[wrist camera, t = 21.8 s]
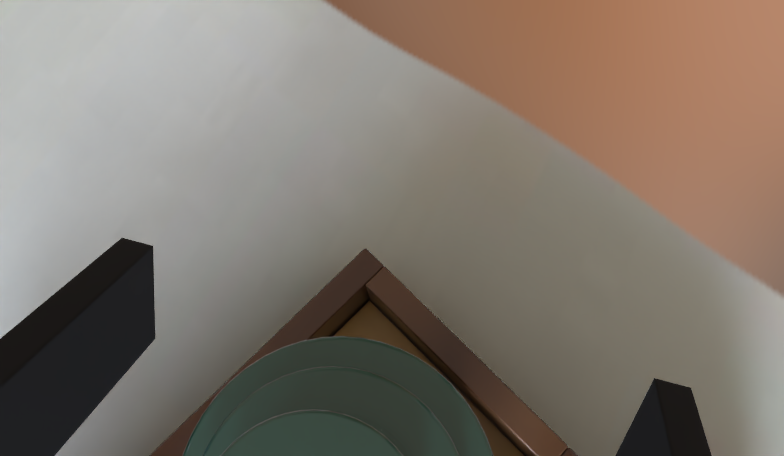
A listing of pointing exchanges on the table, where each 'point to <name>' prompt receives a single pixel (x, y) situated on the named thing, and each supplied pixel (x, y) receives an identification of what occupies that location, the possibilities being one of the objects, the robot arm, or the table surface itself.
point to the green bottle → (339, 406)
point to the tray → (413, 334)
